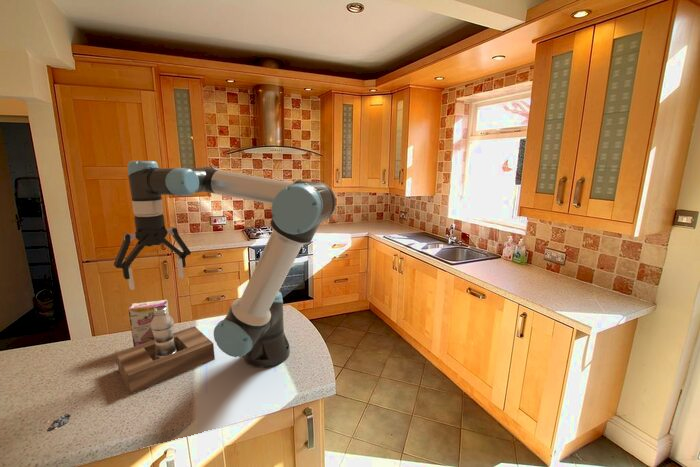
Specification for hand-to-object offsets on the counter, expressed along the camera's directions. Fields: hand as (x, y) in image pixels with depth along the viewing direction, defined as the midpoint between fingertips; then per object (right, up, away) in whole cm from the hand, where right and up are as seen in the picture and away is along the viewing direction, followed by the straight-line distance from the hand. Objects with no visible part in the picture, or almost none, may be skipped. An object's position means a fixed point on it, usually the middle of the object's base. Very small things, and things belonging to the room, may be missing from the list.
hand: (157, 282), depth 101 cm
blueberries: (-15, -33, -18) cm, 40 cm away
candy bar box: (-11, -25, +16) cm, 32 cm away
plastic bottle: (0, -28, +6) cm, 28 cm away
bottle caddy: (0, -27, +6) cm, 28 cm away
